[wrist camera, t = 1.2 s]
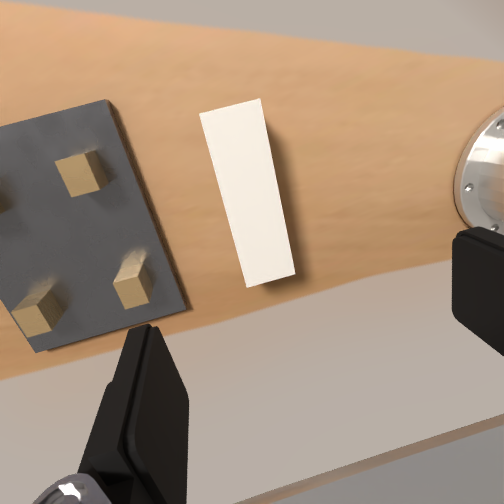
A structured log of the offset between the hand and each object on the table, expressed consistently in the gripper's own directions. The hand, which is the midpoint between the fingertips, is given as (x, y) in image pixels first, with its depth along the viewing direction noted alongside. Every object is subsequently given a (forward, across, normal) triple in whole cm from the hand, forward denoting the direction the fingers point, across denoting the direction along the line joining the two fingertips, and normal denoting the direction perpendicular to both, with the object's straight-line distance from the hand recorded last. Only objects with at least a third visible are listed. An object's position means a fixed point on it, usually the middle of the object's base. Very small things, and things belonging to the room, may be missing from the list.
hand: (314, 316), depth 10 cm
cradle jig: (+20, +15, 0) cm, 24 cm away
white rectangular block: (+20, 0, 0) cm, 20 cm away
